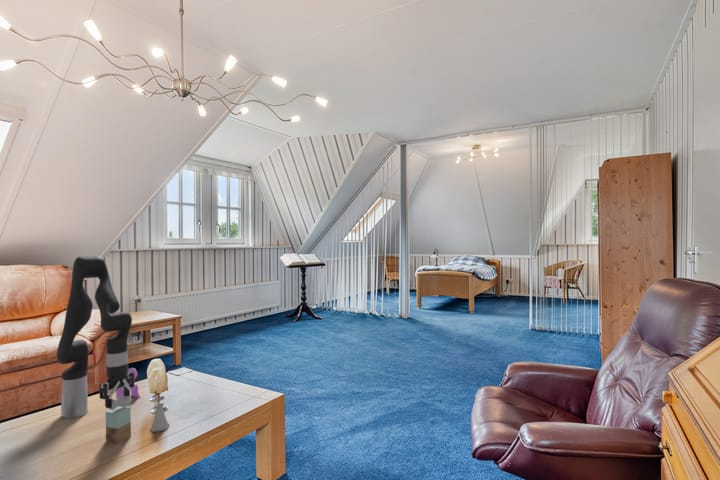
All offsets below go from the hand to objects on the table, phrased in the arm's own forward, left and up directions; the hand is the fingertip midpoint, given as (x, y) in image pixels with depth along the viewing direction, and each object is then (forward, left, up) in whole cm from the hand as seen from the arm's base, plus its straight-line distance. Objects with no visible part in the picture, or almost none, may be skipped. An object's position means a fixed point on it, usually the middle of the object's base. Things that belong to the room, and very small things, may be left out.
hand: (117, 403), depth 160 cm
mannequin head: (+1, 0, -2) cm, 2 cm away
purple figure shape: (-28, +31, -14) cm, 44 cm away
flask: (+9, +12, -14) cm, 21 cm away
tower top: (0, 0, -8) cm, 8 cm away
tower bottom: (0, 0, -14) cm, 14 cm away
